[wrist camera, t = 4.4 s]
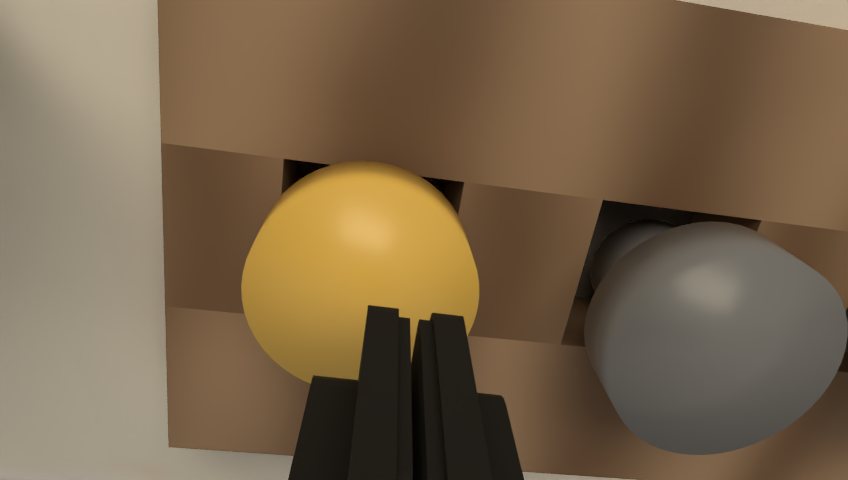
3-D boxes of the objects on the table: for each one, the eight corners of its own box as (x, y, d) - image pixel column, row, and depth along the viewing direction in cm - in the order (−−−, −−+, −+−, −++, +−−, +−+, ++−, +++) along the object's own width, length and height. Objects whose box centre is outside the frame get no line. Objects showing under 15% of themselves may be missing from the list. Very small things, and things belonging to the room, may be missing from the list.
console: (1094, 77, 18) (1225, 96, 15) (879, 438, 23) (946, 500, 20) (198, -77, 14) (155, -91, 12) (198, 382, 20) (169, 447, 17)
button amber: (470, 144, 16) (500, 202, 12) (440, 304, 18) (457, 402, 14) (282, 118, 16) (245, 170, 12) (272, 287, 18) (237, 384, 14)
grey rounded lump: (757, 194, 16) (890, 270, 12) (694, 349, 18) (789, 462, 14) (578, 169, 16) (652, 241, 11) (534, 333, 18) (582, 446, 13)
